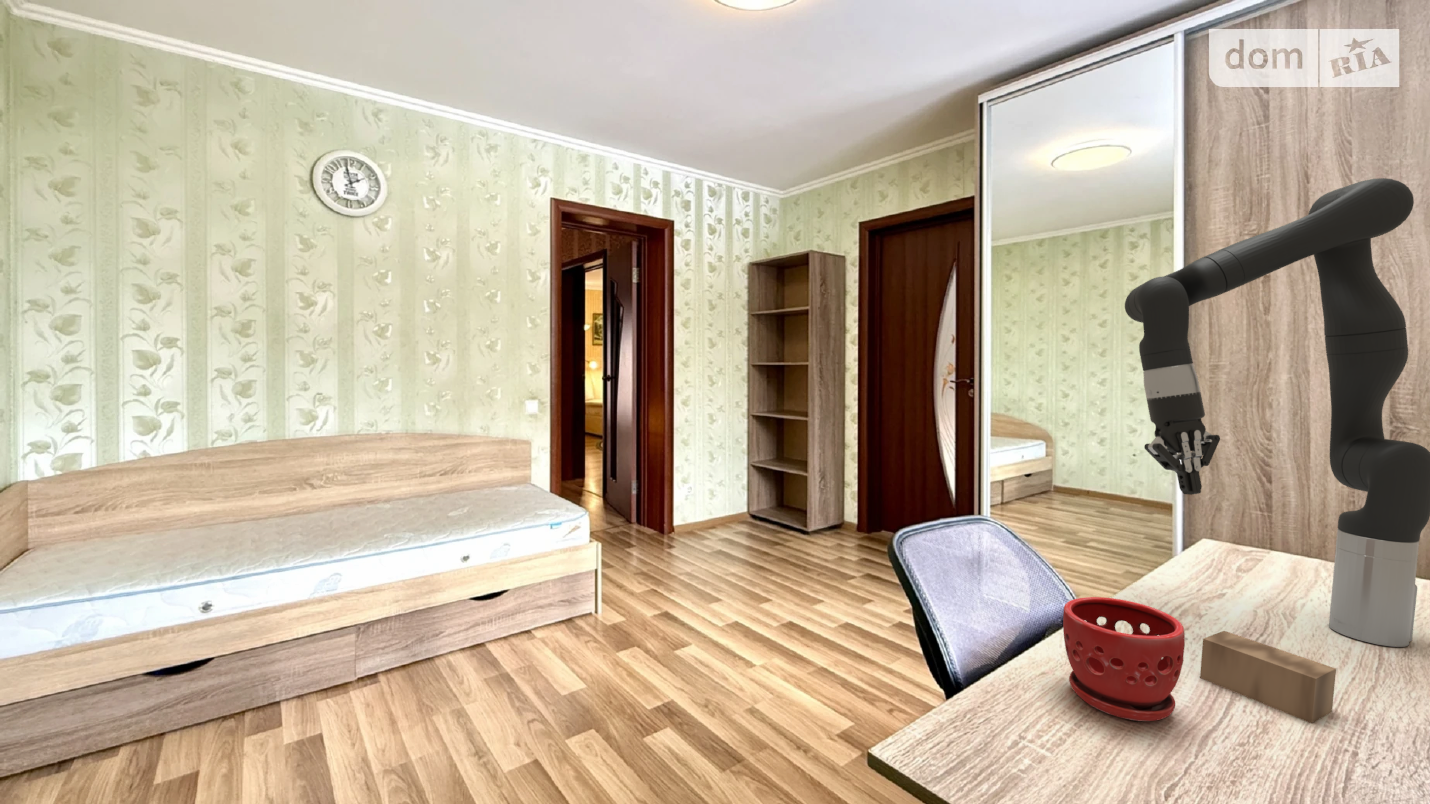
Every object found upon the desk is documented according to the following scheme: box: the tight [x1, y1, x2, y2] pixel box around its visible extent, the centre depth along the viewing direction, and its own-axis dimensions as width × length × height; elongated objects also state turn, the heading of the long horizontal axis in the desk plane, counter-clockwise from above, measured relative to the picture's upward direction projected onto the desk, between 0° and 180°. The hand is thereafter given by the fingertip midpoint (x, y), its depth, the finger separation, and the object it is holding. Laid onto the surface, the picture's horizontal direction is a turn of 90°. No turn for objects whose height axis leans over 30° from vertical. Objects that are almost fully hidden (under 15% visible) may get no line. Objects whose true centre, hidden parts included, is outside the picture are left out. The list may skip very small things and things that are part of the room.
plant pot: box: [1062, 596, 1186, 722], centre depth 79 cm, size 13×13×12 cm
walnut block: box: [1199, 630, 1337, 724], centre depth 82 cm, size 6×6×12 cm
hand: (1192, 493), depth 103 cm, fingers closed
